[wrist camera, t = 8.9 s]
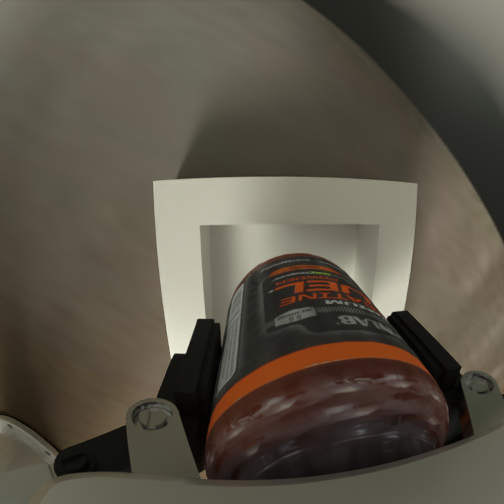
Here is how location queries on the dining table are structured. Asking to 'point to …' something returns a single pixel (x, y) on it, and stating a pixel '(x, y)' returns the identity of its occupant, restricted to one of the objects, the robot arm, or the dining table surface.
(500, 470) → the robot arm
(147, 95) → the dining table surface
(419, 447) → the supplement bottle
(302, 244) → the socket
